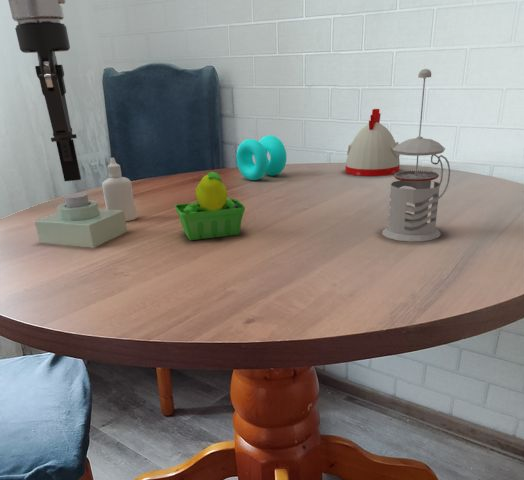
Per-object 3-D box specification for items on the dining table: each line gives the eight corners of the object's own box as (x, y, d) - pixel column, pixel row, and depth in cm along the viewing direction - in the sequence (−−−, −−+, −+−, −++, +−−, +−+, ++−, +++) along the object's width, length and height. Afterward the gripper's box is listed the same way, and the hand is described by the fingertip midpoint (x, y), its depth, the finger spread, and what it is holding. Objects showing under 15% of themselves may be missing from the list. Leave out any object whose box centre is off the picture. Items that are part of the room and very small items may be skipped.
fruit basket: (236, 224, 102) (232, 162, 97) (250, 237, 94) (246, 170, 89) (177, 232, 99) (169, 168, 94) (185, 246, 92) (177, 177, 86)
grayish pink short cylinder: (61, 209, 96) (59, 197, 95) (76, 203, 99) (74, 192, 98) (79, 210, 94) (77, 198, 93) (94, 204, 98) (91, 193, 97)
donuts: (289, 176, 141) (288, 135, 136) (262, 183, 135) (260, 140, 130) (262, 172, 147) (260, 133, 142) (235, 179, 141) (232, 138, 136)
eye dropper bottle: (113, 217, 111) (103, 156, 106) (139, 217, 111) (130, 155, 105) (105, 223, 108) (93, 160, 102) (132, 222, 107) (122, 159, 101)
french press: (370, 231, 94) (378, 70, 82) (420, 220, 99) (435, 66, 87) (408, 245, 87) (423, 70, 75) (461, 232, 91) (483, 66, 79)
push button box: (39, 242, 98) (31, 209, 95) (76, 227, 106) (69, 196, 103) (93, 248, 93) (86, 213, 90) (127, 231, 101) (121, 199, 98)
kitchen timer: (404, 167, 145) (408, 106, 138) (392, 177, 134) (396, 111, 127) (353, 165, 150) (355, 106, 143) (338, 175, 139) (340, 112, 132)
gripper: (62, 18, 78) (94, 184, 90) (67, 24, 90) (95, 171, 101) (7, 20, 77) (47, 189, 88) (20, 26, 88) (53, 175, 99)
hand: (72, 179), depth 94 cm, fingers closed
